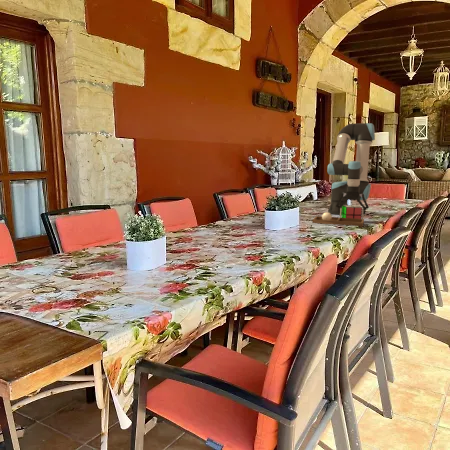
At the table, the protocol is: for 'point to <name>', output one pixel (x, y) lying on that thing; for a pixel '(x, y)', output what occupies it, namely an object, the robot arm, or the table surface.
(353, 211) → the puzzle cube
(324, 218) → the ceramic egg
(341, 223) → the brown wooden tray
